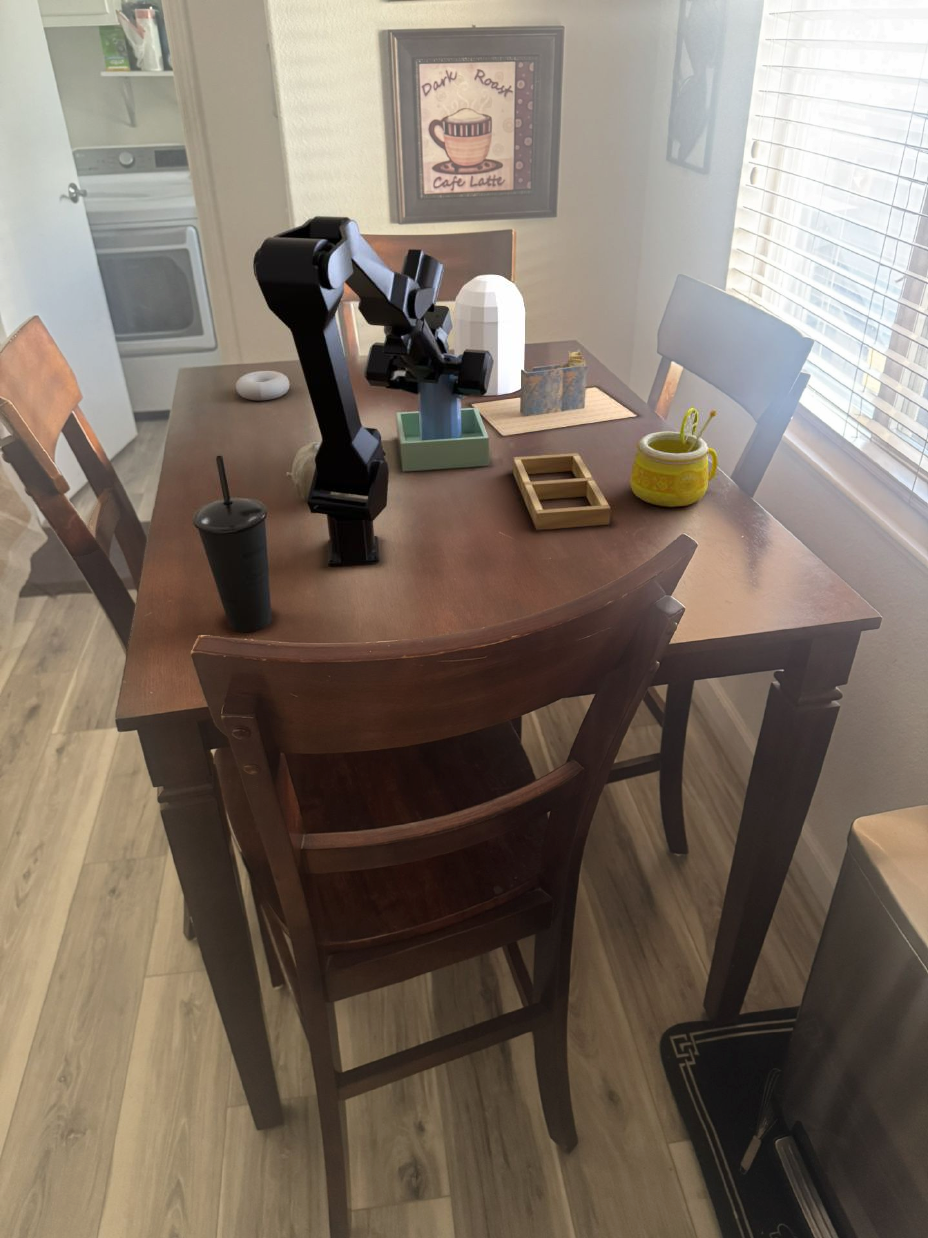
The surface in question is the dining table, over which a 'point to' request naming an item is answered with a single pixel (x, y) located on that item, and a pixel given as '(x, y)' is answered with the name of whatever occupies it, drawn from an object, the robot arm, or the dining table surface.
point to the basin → (442, 444)
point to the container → (492, 328)
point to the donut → (262, 385)
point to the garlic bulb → (305, 469)
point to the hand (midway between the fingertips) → (442, 394)
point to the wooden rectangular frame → (560, 491)
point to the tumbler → (439, 409)
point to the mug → (673, 466)
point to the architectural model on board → (552, 401)
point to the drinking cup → (237, 556)
